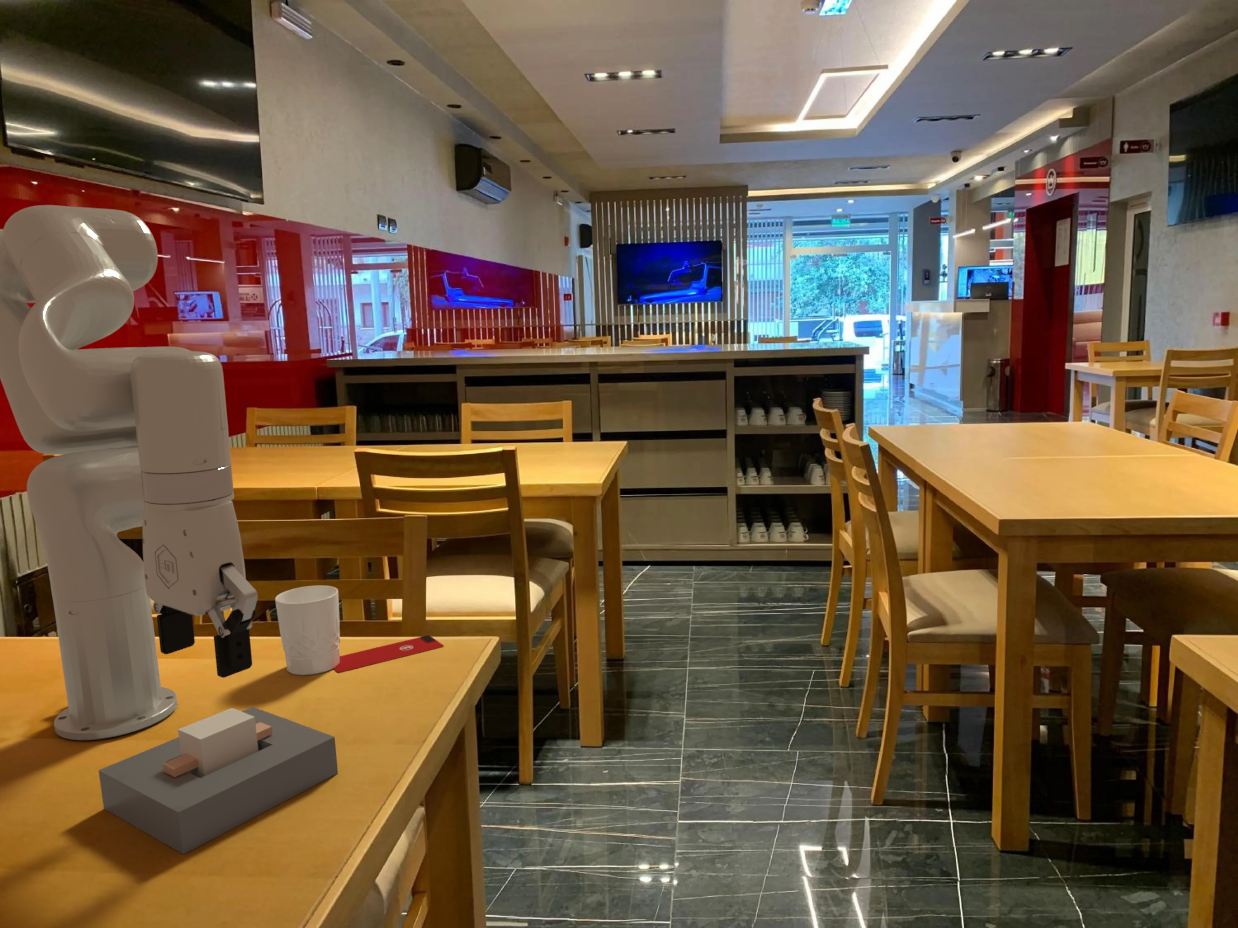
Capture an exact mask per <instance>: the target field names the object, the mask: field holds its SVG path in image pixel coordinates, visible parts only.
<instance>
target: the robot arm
mask: <svg viewBox="0 0 1238 928" xmlns="http://www.w3.org/2000/svg"><path fill="white" fill-rule="evenodd" d="M158 258H159V257H158V248H157V243H156V240H155V238H154V235H153V233H152V232H151V230H150V228H149V227H148V225H146V223H145V221H143V220H142V219H141V218H140V217H138V216H137V215H135V214H134V213H131V212H128V211H126V210H119V209H112V208H97V207H80V206H68V205H56V204H55V205H54V204H44V205H41V204H40V205H33V206H28V207H25V208H22V209H19V210H18V211H17V212H14V213H13V214H12V215H11V216H10V217H9V218H8V219H7V221H5V224H4V227H3V228H0V382H1V384H2V387H3V390H4V393H5V396H6V398H7V400H8V403H9V406H10V409H11V411H12V415H13V417H14V419H15V422H16V425H17V426H18V429H19V430H18V431H19V432H20V434H21V437H23V440H24V441H25V443H26V444H27V445H28V446H29V447H30V448H31V449H32V450H34V451H35V452H37V453H40V454H44V455H55V456H54V457H51V458H48V459H46V460H43V461H42V462H41V463H39V464H38V465H37V466H35V467H34V468H33V469H32V471H31V472H30V474H29V476H28V479H27V482H26V492H27V495H26V496H27V499H28V500H27V501H28V503H29V508H30V510H31V513H32V516H33V518H34V522H35V525H36V527H37V531H38V534H39V537H40V541H41V544H42V546H43V551H44V555H45V561H46V564H47V570H48V576H49V577H48V578H49V582H50V590H51V595H52V596H51V597H52V602H53V609H54V615H55V622H56V631H57V637H58V642H59V643H58V644H59V651H60V659H61V664H62V665H61V666H62V673H63V679H64V685H65V692H66V693H65V694H66V700H67V706H68V707H67V708H65V709H63V710H62V711H61V712H60V713H58V715H57V716H56V717H55V718H54V722H53V725H54V732H55V733H56V735H58V736H59V737H61V738H64V739H68V740H72V741H93V740H95V741H96V740H103V739H108V738H109V739H110V738H113V737H114V738H115V737H119V736H123V735H127V734H130V733H133V732H137V731H140V730H143V729H145V728H148V727H150V726H152V725H155V724H156V723H159V722H160V721H162V720H164V719H166V718H167V717H168V716H170V715H171V714H172V713H173V712H174V711H175V710H176V708H177V706H178V697H177V693H176V692H175V691H174V690H173V689H170V688H167V687H165V686H162V685H161V684H162V683H161V677H160V676H161V675H160V668H159V659H158V652H157V644H156V636H155V628H154V627H155V626H154V621H153V612H154V613H155V614H157V615H156V621H157V630H158V632H157V633H158V640H159V649H160V653H161V654H164V655H169V654H172V653H175V652H178V651H181V650H184V649H187V648H191V647H192V646H194V645H195V643H196V641H195V640H196V639H195V633H194V632H195V630H194V622H193V621H194V620H193V616H195V617H199V616H203V615H205V614H206V613H207V614H208V616H209V618H210V619H211V622H212V624H213V625H214V627H215V629H216V632H217V633H218V634H216V635H214V636H213V641H214V642H213V645H214V653H215V654H214V655H215V665H216V674H217V676H218V677H220V678H223V679H225V678H227V677H229V676H230V677H231V676H232V675H236V674H237V673H241V672H243V671H247V670H248V669H251V667H252V666H253V656H252V646H251V635H250V629H252V627H253V621H254V618H255V617H256V611H255V610H256V606H257V602H258V598H259V595H258V592H257V590H256V589H255V588H254V587H253V586H252V584H251V583H249V581H248V580H247V579H246V567H245V560H244V559H245V558H244V553H243V547H242V546H243V545H242V539H241V533H240V529H239V523H238V519H237V514H236V510H235V507H234V506H235V505H234V502H233V500H234V499H235V492H234V483H233V482H234V480H233V472H232V469H233V468H232V457H231V448H230V447H231V446H230V437H229V424H228V415H227V414H228V413H227V412H228V411H227V401H226V390H225V381H224V380H225V379H224V371H223V365H222V363H221V361H220V359H219V358H218V357H217V356H216V355H214V354H212V353H209V352H205V351H200V350H199V351H197V350H195V351H194V350H189V349H187V348H184V347H182V346H181V347H179V346H146V347H144V346H143V347H142V346H140V347H137V346H134V347H133V346H132V347H110V348H109V347H104V348H102V347H100V348H86V349H85V348H83V349H82V347H86V346H88V345H90V344H92V343H94V342H95V343H96V342H97V341H100V340H102V339H105V338H106V337H108V336H110V335H112V334H113V333H115V332H116V331H118V330H119V329H121V327H123V326H124V325H125V324H126V322H127V321H128V320H129V319H130V317H131V315H132V313H133V310H134V307H135V306H134V305H135V294H134V291H135V292H136V291H137V290H138V289H140V288H143V287H144V286H145V285H146V284H148V283H149V282H150V280H152V278H153V277H154V275H155V273H156V271H157V267H158V261H159V259H158ZM28 304H33V306H29V305H28ZM80 348H81V349H80ZM56 455H57V456H56ZM140 527H142V558H141V556H139V555H138V553H136V551H134V550H133V549H132V548H131V547H130V546H128V545H127V544H125V543H124V542H123V541H122V540H120V538H119V537H118V533H119V532H120V533H121V532H123V531H127V530H131V529H135V528H140ZM142 559H143V560H142ZM217 600H220V601H217ZM151 601H153V605H152V603H151ZM152 606H153V607H152ZM152 608H153V612H152ZM230 609H231V610H232V611H231V612H230V614H229V615H228V617H227V619H226V618H225V615H224V614H223V611H228V610H230Z"/></svg>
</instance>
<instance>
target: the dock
mask: <svg viewBox="0 0 1238 928" xmlns="http://www.w3.org/2000/svg"><path fill="white" fill-rule="evenodd" d="M240 711H241V712H244V713H246V714H249V715H251V716H254V717H255V723H256V724H257V723H259V722H261V723H264V724H266V725H269V726H271V727H272V735H269V736H267V737H265V738H263V739H260V740H258V741H257V742H258V752H256V753H254V754H252V755H249V756H247V757H245V758H243V759H241V760H239V761H236V762H234V763H232V764H230V765H228V766H225V767H223V768H221V769H219V770H217V771H215V772H212V773H210V774H208V775H206V776H204V777H202V778H199V777H197V776H195V775H193V774H190V773H188V772H186V773H183V774H181V775H179V776H177V777H173V776H171V775H169V774H167V773H165V772H164V771H163V763H165V762H167V761H170V760H172V759H174V758H177V757H179V756H181V750H180V741H179V736H178V737H175V738H173V739H171V740H169V741H166V742H163V743H161V744H160V745H159V744H158V745H156V746H154V747H152V748H149V749H147V750H144V751H142V752H140V753H137V754H135V755H132V756H130V757H127V758H124V759H123V760H119V761H118V762H115V763H112V764H110V765H108V766H105V767H103V768H100V769H98V776H99V784H100V791H101V798H102V807H103V809H104V810H106V812H107V811H108V812H109V813H111V814H113V815H114V816H116V817H117V818H120V819H121V820H123V821H125V822H126V823H128V824H130V825H132V826H133V827H135V828H137V829H138V830H140V831H142V832H143V833H146V834H147V835H149V836H150V837H152V838H154V839H156V840H158V841H159V842H161V843H163V844H164V845H165V846H168V847H170V848H172V849H173V850H175V851H177V852H178V853H180V854H182V855H186V854H187V853H189V852H191V851H193V850H195V849H197V848H200V846H202V845H205V844H207V843H208V842H210V841H212V840H214V839H216V838H218V837H220V836H222V835H223V834H226V833H227V832H229V831H231V830H233V829H235V828H237V827H239V826H240V825H242V824H245V823H246V822H248V821H250V820H252V819H254V818H256V817H258V816H260V815H261V814H264V813H265V812H267V811H270V810H271V809H273V808H275V807H277V806H278V805H281V804H282V803H284V802H286V801H288V800H290V799H292V798H294V797H297V796H298V795H300V794H301V793H304V792H305V791H307V790H309V789H312V787H315V786H316V785H318V784H320V783H322V782H324V781H326V780H328V779H329V778H331V777H333V776H335V775H337V774H339V769H338V760H337V757H338V756H337V748H336V739H335V738H336V737H335V736H333V735H332V734H331V735H330V734H328V733H325V732H322V731H319V730H317V729H314V728H312V727H309V726H306V725H303V724H301V723H298V722H296V721H292V720H290V719H287V718H285V717H282V716H280V715H276V714H274V713H271V712H268V711H265V710H263V709H260V708H257V707H255V706H251V707H248V708H247V709H246V708H245V709H243V710H240Z"/></svg>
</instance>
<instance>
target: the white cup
mask: <svg viewBox="0 0 1238 928" xmlns="http://www.w3.org/2000/svg"><path fill="white" fill-rule="evenodd" d="M274 598H275V599H274V601H275V607H276V614H277V621H278V627H279V634H280V639H281V644H282V650H283V652H284V656H285V664H286V671H287V672H289V673H290V674H292V675H296V676H309V675H310V676H311V675H316V674H322V673H325V672H328V671H330V670H334V669H333V668H335V667H336V666H337V665H338V664H339V663H340V656H341V655H340V643H341V639H340V637H341V635H340V634H341V629H340V622H341V621H340V606H339V605H340V603H339V589H338V588H337V587H335V586H332V585H323V584H322V585H321V584H320V585H309V586H308V585H307V586H301V587H295V588H292V589H289V590H286V591H283V592H281V593H279V594H277V595H276V596H275V597H274Z"/></svg>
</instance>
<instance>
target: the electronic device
mask: <svg viewBox="0 0 1238 928" xmlns="http://www.w3.org/2000/svg"><path fill="white" fill-rule="evenodd" d="M444 647H445V645H444V644H442V643H441V642H440V641H438V640H437V639H436V638H434V637H432V636H431V635H430V634H427V635H421V636H419V637H415V638H411V639H407V640H404V641H403V640H402V641H398V642H394V643H390V644H386V645H381V646H378V647H377V646H376V647H374V648H369V649H365V650H360V651H356V652H352V653H348V654H344V655H340V663H339V664H338V665H337V666H336V667H335V668H333V669H332V670H334V671H335V672H336V673H337V674H342V673H344V672H349V671H353V670H358V669H361V668H366V667H369V666H373V665H378V664H381V663H382V664H383V663H385V662H388V661H393V660H397V659H401V658H404V657H405V658H406V657H409V656H413V655H417V654H421V653H425V652H429V651H432V650H433V651H434V650H437V649H438V650H439V649H442V648H444Z"/></svg>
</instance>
